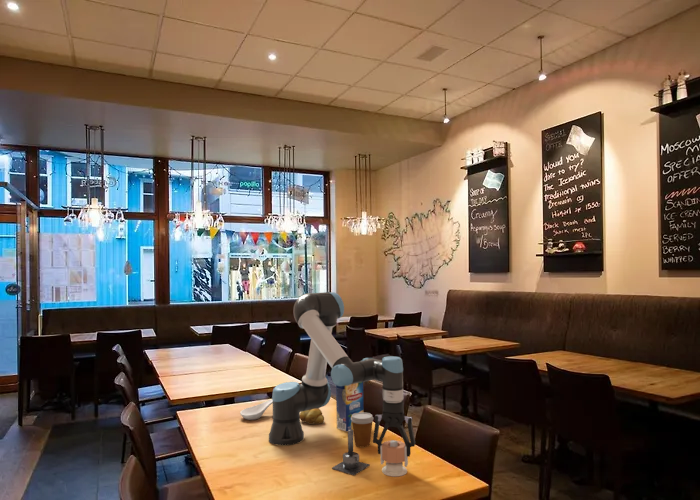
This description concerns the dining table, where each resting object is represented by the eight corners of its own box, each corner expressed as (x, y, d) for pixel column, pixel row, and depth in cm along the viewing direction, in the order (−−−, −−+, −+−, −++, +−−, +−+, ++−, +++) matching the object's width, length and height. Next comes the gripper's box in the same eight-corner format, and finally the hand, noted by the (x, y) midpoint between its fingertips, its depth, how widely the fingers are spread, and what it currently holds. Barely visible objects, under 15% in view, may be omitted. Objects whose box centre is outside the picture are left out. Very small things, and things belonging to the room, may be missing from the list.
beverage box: (363, 426, 218) (363, 378, 219) (346, 431, 211) (345, 382, 212) (353, 422, 223) (353, 376, 224) (336, 428, 216) (335, 380, 217)
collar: (380, 461, 166) (380, 447, 166) (385, 453, 174) (385, 439, 174) (403, 464, 164) (403, 449, 164) (406, 455, 172) (406, 441, 172)
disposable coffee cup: (372, 449, 189) (371, 419, 190) (349, 448, 191) (348, 418, 192) (375, 441, 199) (375, 412, 199) (353, 439, 201) (353, 411, 201)
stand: (332, 468, 171) (331, 431, 172) (347, 459, 180) (347, 424, 180) (354, 475, 166) (353, 436, 166) (369, 465, 174) (369, 428, 174)
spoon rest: (245, 423, 224) (245, 408, 225) (236, 417, 234) (236, 403, 234) (289, 414, 238) (289, 400, 238) (279, 409, 248) (279, 395, 248)
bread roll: (328, 422, 224) (328, 405, 224) (313, 427, 217) (313, 410, 217) (310, 417, 233) (310, 400, 233) (295, 421, 226) (295, 405, 226)
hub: (377, 472, 168) (376, 442, 168) (390, 463, 175) (389, 435, 176) (399, 478, 163) (398, 448, 163) (411, 469, 170) (410, 440, 170)
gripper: (362, 401, 169) (363, 465, 168) (420, 405, 164) (421, 471, 163) (367, 395, 176) (368, 457, 175) (423, 399, 171) (424, 462, 170)
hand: (394, 463), depth 169 cm, fingers closed on collar, 8 cm apart
